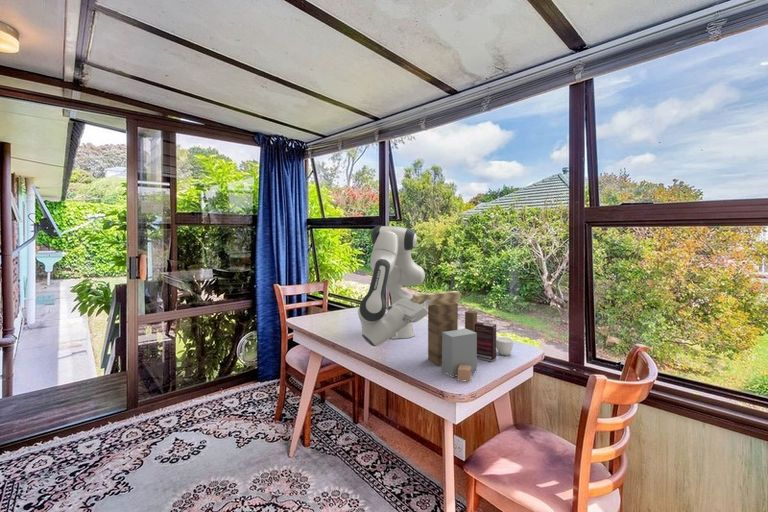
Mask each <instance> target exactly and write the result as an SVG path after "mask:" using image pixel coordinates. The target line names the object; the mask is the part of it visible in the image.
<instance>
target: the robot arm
mask: <svg viewBox="0 0 768 512" xmlns="http://www.w3.org/2000/svg"><path fill="white" fill-rule="evenodd" d="M370 241H371V244H372V245H373V248H372V251H371V256H370V262H369V266H370V269H371V270H372V277H371V281H370V285H369V288H368V291H367V293H366V295H365V296H363V298H362V300H361V301H360V303H359V304H360V305H359V307H358V311H357V314H358V317H359V318H358V319H359V321H360V326H361V330H362V331H361V336H362V338H363V340H365V341H366V342H367V343H368V345H370V346H372V347H378V346H381V345H382V344H383V343H385V342H387V341H388V340H389V339H392V340H396V339H398V340H399V339H409V338H412V337H414V336H415V332H414V331H415V330H414V326H413V324H414V323H417V322H419V321H421V320H422V319H424V318H425V317H427V316H428V308H427V307H428V306H427V305H428V304H429V303H430V300H429V299H426V300H424V303H423V304H418V303H415V302H413V297H412V295H411V294H410V293H409V292H407V291H405V290H403V289H402V287H401V286H417V285H421V284H423V282H424V281H425V278H426V272H425V270H424V268H423V267H421V266H420V265H418V264H417V263H416V262H415V261H414V260H413V257H412V252H411V251H412V250H414V248H415V247H416V245H417V242H418V236H417V231H415V230H414V229H412V228H410V227H408V228H407V227H402V226H397V225H394V226H391V225H386V226H385V225H384V226H383V225H376V226H374V228H373V229H372V230H371V234H370ZM386 289H387V290H388V292H389V295H390V298H391V300H390V301H391V305H388V306H387V303H386V299H385V294H386ZM386 311H387V312H386Z"/></svg>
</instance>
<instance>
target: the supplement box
mask: <svg viewBox="0 0 768 512" xmlns="http://www.w3.org/2000/svg"><path fill="white" fill-rule="evenodd" d="M475 332H476V333H477V359H478V360H482V361H483V360H484V361H487V362H494V361H495V360H497V348H496V338H497V324H496V323H495V324H494V323H489V322H481V321H477V323H475Z"/></svg>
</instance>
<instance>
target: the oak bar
mask: <svg viewBox="0 0 768 512" xmlns="http://www.w3.org/2000/svg"><path fill="white" fill-rule="evenodd" d="M412 298H413V302H415V303H418V304H423V303H424V300H426V299H429V300H430V303H429V304H428V305H437V304H446V303H460V302H461V291H458V290H449V291H437V292H427V293H415V294H412ZM428 305H427V307H428Z"/></svg>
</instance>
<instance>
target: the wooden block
mask: <svg viewBox="0 0 768 512" xmlns="http://www.w3.org/2000/svg"><path fill="white" fill-rule="evenodd" d="M477 322H478V311H477V310H466V311H465V312H464V329H468V330H471V331H473V332H475V323H477Z"/></svg>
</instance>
